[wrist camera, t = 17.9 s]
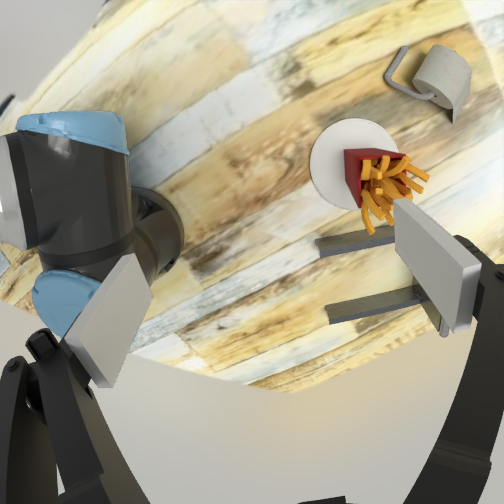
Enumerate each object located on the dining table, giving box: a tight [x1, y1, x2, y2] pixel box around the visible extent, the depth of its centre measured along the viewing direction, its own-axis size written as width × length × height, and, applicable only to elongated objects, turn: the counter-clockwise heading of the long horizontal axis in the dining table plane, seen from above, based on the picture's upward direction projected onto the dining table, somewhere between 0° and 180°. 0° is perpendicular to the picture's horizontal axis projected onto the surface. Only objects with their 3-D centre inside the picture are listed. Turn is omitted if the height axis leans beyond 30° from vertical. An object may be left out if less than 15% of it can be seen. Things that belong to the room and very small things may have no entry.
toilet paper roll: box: [384, 45, 472, 123], centre depth 37 cm, size 10×11×12 cm
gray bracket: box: [315, 225, 449, 337], centre depth 47 cm, size 19×14×14 cm
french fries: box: [344, 148, 430, 235], centre depth 38 cm, size 9×8×15 cm
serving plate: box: [310, 118, 399, 210], centre depth 45 cm, size 14×14×1 cm
